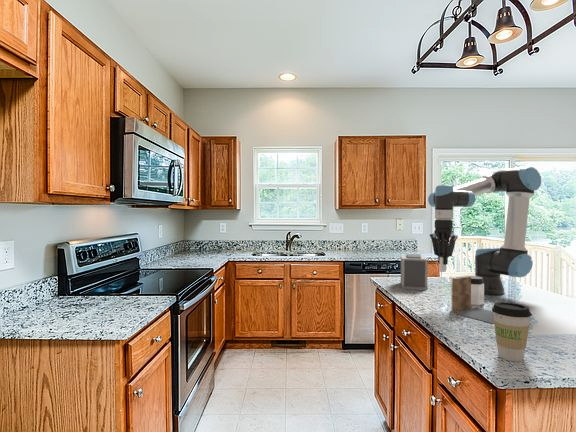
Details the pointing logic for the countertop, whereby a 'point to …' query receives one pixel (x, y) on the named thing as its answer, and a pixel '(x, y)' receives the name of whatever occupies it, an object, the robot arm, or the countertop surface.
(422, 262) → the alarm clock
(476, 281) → the jar
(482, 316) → the mat
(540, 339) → the countertop surface
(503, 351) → the coffee cup
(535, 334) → the countertop surface
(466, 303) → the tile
